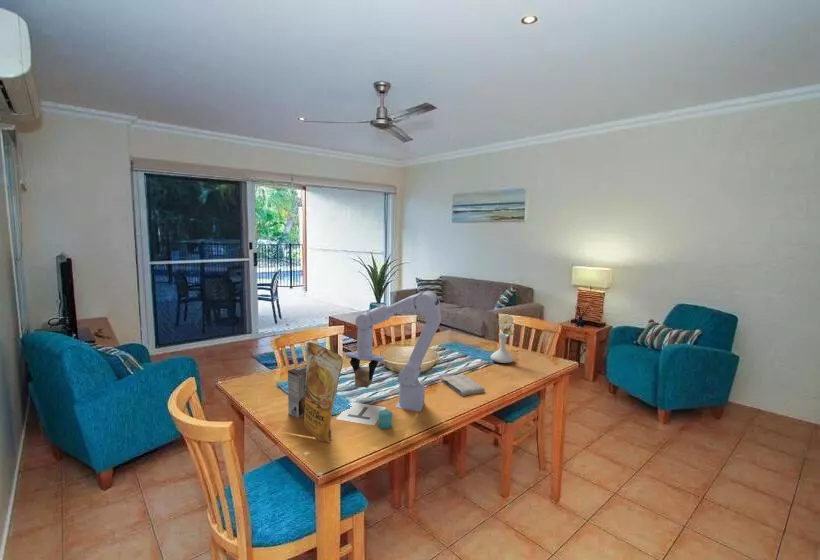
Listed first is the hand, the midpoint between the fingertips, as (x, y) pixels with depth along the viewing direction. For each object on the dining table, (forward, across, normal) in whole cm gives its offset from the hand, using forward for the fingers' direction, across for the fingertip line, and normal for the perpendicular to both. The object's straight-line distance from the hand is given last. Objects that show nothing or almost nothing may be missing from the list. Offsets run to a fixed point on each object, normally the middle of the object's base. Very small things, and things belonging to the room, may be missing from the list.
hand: (364, 378), depth 157 cm
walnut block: (+2, 0, 0) cm, 2 cm away
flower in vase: (+8, +51, +62) cm, 81 cm away
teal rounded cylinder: (+8, +14, -18) cm, 25 cm away
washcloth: (+9, +35, +25) cm, 44 cm away
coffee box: (+8, -16, -18) cm, 25 cm away
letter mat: (+8, +4, -12) cm, 15 cm away
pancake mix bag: (+8, -5, -28) cm, 29 cm away
